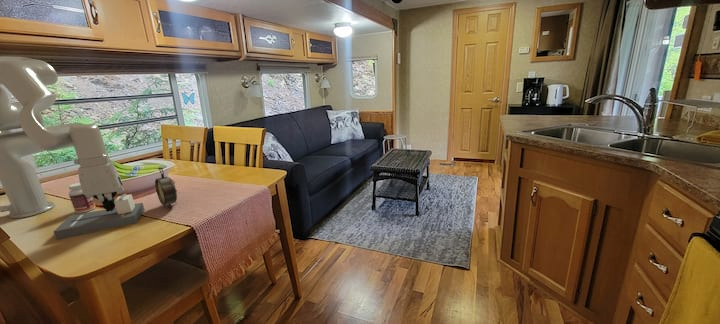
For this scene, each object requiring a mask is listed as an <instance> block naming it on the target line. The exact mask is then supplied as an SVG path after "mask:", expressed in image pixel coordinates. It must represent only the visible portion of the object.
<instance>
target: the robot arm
mask: <svg viewBox="0 0 720 324" xmlns="http://www.w3.org/2000/svg"><path fill="white" fill-rule="evenodd" d="M58 78H59V77H58V73H57V71H56V69H55V68H54V67H53V66H52V65H51V64H49V63H48V62H46V61H43V60H41V59H35V58H29V57H26V56H14V55H13V56H10V55H9V56H7V55H6V56H5V55H4V56H0V83H1V84H2V85H3V86H4V87H5V89H4V88H3V87H2V86H0V132H2V131H3V132H4V131H10V130H17V131H12V132H5V133H0V183H1V186H2V188H3V191H4V193H5V195H6V197H7V199H8V202H9V204H8V205H7V204H5V205H0V213H6V212H9V214H8V216H9V218H11V219H22V218H27V217H31V216H35V215H38V214H42V213H45V212H47V211H49V210H51V209H53V208H54V207H55V205H56V204H55V203H54V202H53V201H48V199H47V196H46V194H45V192H44V189H43V187H42V184H41V181H40V180H39V176H38V175H37V172H36V169H35V168H34V166H33V165H32V164H31V163H30V162H28V161H26V160H24V159H22V157H25V156H29V155H34V154H39V153H42V152H45V151H47V152H52V151H58V150H62V149H63V150H64V149H67V148H72V147H73V148H74V151H75V154H76V156H77V159H75V160H73V164H74V165H79V167H78V168H77V173H78V180H79V183H80V185H81V189H82V192H83V194H84V195H86V198H93V199H96V200H98V201H99V202H101V203H102V206H103V210H105V209H106V211H107V212H108V211H113V209H114V208H116V206H115V203H114V201H115V199H114V198H115V197H116V196H117V195H119V194H121V193H123V192H124V191H125V188H124V187H123V181H122V178H121V176H120V174H119V172H118V169H117V167H116V166H115V165H114V163H113V161H110V158H109V155H108V152H107V149H106V146H105V142H104V139H103V136H102V132H101V130H100V127H99V126H98V125H97V124H95V123H88V124H85V123H82V122H73V123H72V122H71V123H67V124H59V125H54V126H52V125H51V126H47V127H46V125H45V122H44V117H43V115H42V112H44V111H45V110H47V109H49V108H51V107H52V106H54V104H55V102H56V100H57V99H56V96H55V94H54V93H53V92H52V91H51V90H50V89H49V88H48V87H47V86H52V85H55V84H56V83H58ZM6 89H7V90H8V92H10V93H11V95H12V96H13V98H15V99H16V100H17V102H10V100H9V95H8V93H7V91H6ZM18 129H21V130H18Z"/></svg>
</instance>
